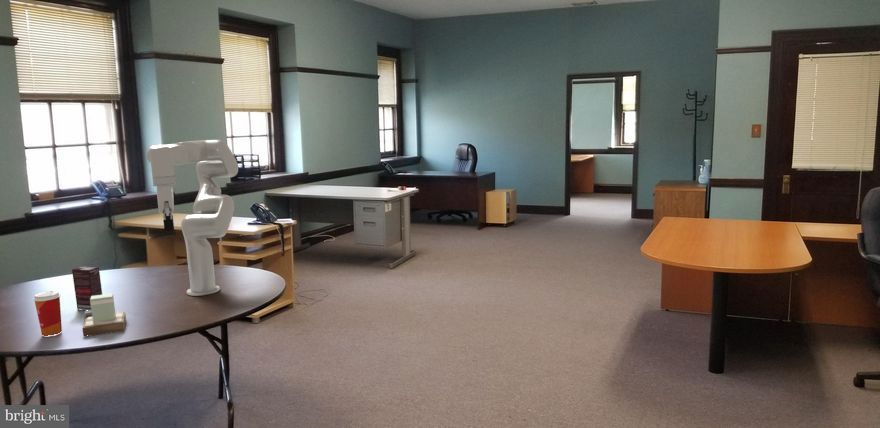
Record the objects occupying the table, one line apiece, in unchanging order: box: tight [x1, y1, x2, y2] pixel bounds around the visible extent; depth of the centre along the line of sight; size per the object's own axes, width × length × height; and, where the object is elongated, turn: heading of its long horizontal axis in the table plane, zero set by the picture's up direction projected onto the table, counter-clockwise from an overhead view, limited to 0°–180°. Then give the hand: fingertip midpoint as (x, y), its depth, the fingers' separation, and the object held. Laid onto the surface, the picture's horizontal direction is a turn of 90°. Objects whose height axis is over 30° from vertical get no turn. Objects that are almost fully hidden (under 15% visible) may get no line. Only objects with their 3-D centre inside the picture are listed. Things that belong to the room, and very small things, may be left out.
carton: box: [90, 292, 116, 323], centre depth 214 cm, size 5×7×8 cm
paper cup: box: [32, 290, 63, 336], centre depth 209 cm, size 8×8×14 cm
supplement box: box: [71, 265, 103, 311], centre depth 236 cm, size 9×5×16 cm, turn 71°
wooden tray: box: [81, 311, 127, 337], centre depth 215 cm, size 12×12×3 cm
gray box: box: [84, 310, 92, 321], centre depth 223 cm, size 4×7×4 cm, turn 123°
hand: (169, 228), depth 229 cm, fingers open, 9 cm apart
